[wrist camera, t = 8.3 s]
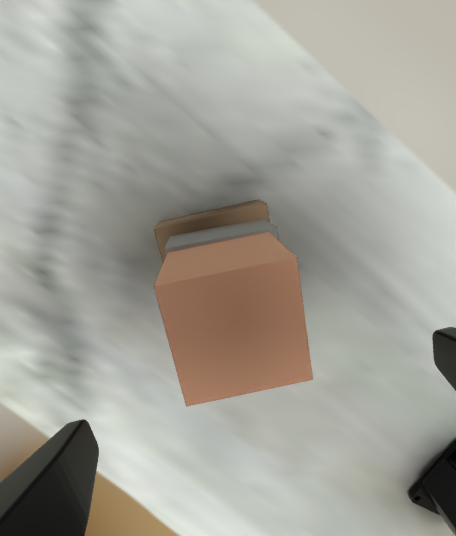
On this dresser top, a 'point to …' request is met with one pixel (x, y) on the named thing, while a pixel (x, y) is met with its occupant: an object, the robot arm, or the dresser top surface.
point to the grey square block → (219, 234)
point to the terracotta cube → (234, 317)
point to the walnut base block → (209, 221)
